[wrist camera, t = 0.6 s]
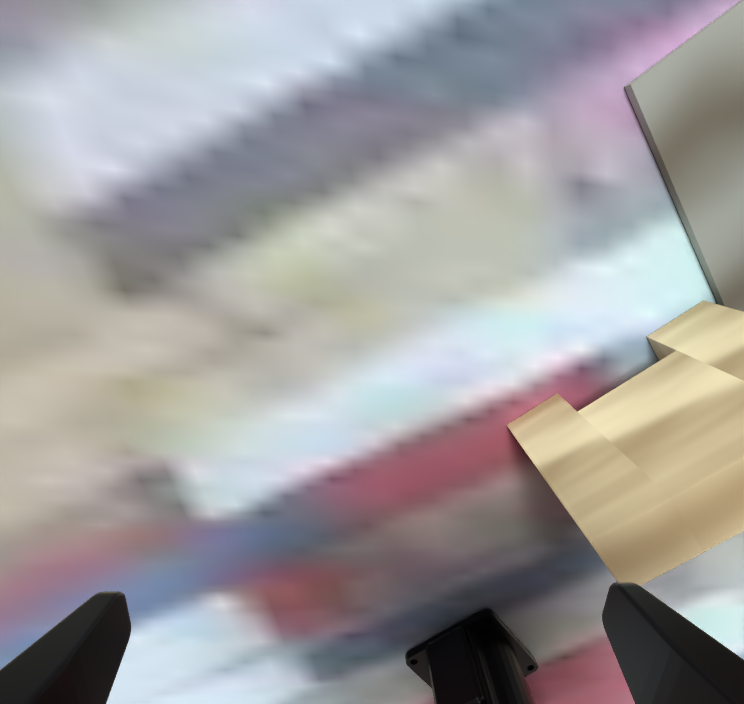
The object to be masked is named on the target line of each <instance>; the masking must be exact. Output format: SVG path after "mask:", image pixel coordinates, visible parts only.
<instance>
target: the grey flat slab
mask: <svg viewBox="0 0 744 704" xmlns="http://www.w3.org/2000/svg"><path fill="white" fill-rule="evenodd" d="M624 88H625V90H626V92H627V95H628V97H629V99H630V102H631V104H632V106H633V109H634V111H635V113H636V116H637V118H638V120H639V123H640V125H641V127H642V130H643V132H644V134H645V136H646V139H647V141H648V143H649V146H650V148H651V150H652V153H653V155H654V157H655V160H656V162H657V164H658V167H659V169H660V171H661V174H662V176H663V178H664V181H665V183H666V185H667V188H668V190H669V192H670V194H671V197H672V199H673V201H674V204H675V206H676V208H677V211H678V213H679V215H680V218H681V220H682V222H683V225H684V227H685V229H686V232H687V234H688V236H689V239H690V241H691V243H692V246H693V248H694V250H695V253H696V255H697V257H698V259H699V262H700V264H701V266H702V269H703V271H704V273H705V276H706V278H707V280H708V283H709V285H710V287H711V290H712V292H713V294H714V297H715V299H716V301H717V304H718V305H721V306H725V307H728V308H732V309H735V310H739V311H743V312H744V0H741V1H739V2H738V3H737V4H735V5H734V6H733V7H731V8H730V9H729V10H727V11H726V12H725V13H723V14H722V15H721V16H719V17H718V18H717V19H715V20H714V21H713V22H711V23H710V24H708V25H707V26H706V27H704V28H703V29H702V30H700V31H699V32H698V33H696V34H695V35H694V36H692V37H691V38H690V39H688V40H687V41H686V42H684V43H683V44H682V45H680V46H679V47H677V48H676V49H675V50H673V51H672V52H671V53H669V54H668V55H667V56H665V57H664V58H663V59H661V60H660V61H659V62H657V63H656V64H655V65H653V66H652V67H651V68H649V69H648V70H646V71H645V72H644V73H642V74H641V75H640V76H638V77H637V78H636V79H634V80H633V81H632V82H630V83H629V84H628V85H626V86H625V87H624Z"/></svg>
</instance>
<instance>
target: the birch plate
mask: <svg viewBox="0 0 744 704" xmlns="http://www.w3.org/2000/svg"><path fill="white" fill-rule="evenodd" d="M647 338H648V340H649V342H650V344H651V346H652V348H653V350H654V352H655V354H656V356H657V358H658V360H659V362H657V363H655V364H654V365H652V366H650V367H649V368H647V369H646V370H644V371H642V372H641V373H639V374H638V375H636V376H634V377H633V378H631V379H629V380H628V381H626V382H625V383H623V384H621V385H620V386H618V387H617V388H615V389H613V390H612V391H610V392H609V393H607V394H605V395H604V396H602V397H600V398H599V399H597V400H596V401H594V402H592V403H591V404H589V405H588V406H586V407H584V408H583V409H581V410H579V411H578V412H577V411H576V410H575V409H574V408H573V407H572V406H571V405H569V404H568V403H567V402H566V401H565V400H564V399H563V398H562V397H561V396H560V395H559V394H555V395H554V396H552V397H550V398H549V399H547V400H546V401H544V402H543V403H541V404H539V405H538V406H536V407H535V408H533V409H531V410H530V411H528V412H527V413H525V414H524V415H522V416H520V417H519V418H517V419H516V420H514V421H512V422H511V423H509V424H508V425H507V427H508V428H509V429H510V431H511V432H512V434H513V435H514V436H515V438H516V439H517V441H518V442H519V444H520V445H521V446H522V448H523V449H524V451H525V452H526V454H527V455H528V456H529V458H530V459H531V461H532V462H533V463H534V465H535V466H536V468H537V469H538V470H539V472H540V473H541V475H542V476H543V478H544V479H545V480H546V482H547V483H548V485H549V486H550V487H551V489H552V490H553V492H554V493H555V494H556V496H557V497H558V499H559V500H560V501H561V503H562V504H563V506H564V507H565V508H566V510H567V511H568V513H569V514H570V515H571V517H572V518H573V520H574V521H575V523H576V524H577V525H578V527H579V528H580V530H581V531H582V532H583V534H584V535H585V537H586V538H587V539H588V541H589V542H590V544H591V545H592V546H593V548H594V549H595V551H596V552H597V553H598V555H599V556H600V558H601V559H602V560H603V562H604V563H605V565H606V566H607V568H608V569H609V570H610V572H611V573H612V575H613V576H614V577H615V579H616V580H617V582H632V583H635V584H637V585H639V586H641V585H643V584H645V583H647V582H649V581H650V580H652V579H654V578H656V577H658V576H660V575H662V574H664V573H665V572H667V571H669V570H671V569H673V568H675V567H677V566H679V565H680V564H682V563H684V562H686V561H688V560H690V559H692V558H694V557H696V556H697V555H699V554H701V553H703V552H705V551H707V550H709V549H711V548H712V547H714V546H716V545H718V544H720V543H722V542H724V541H726V540H727V539H729V538H731V537H733V536H735V535H737V534H739V533H741V532H742V531H744V312H743V311H739V310H735V309H732V308H728V307H725V306H721V305H718V304H714V303H710V302H707V301H702V302H701V303H699V304H697V305H696V306H694V307H693V308H691V309H689V310H688V311H686V312H685V313H683V314H682V315H680V316H678V317H677V318H675V319H674V320H672V321H670V322H669V323H667V324H666V325H664V326H663V327H661V328H659V329H658V330H656V331H655V332H653V333H652V334H650V335H648V336H647Z"/></svg>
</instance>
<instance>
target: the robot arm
mask: <svg viewBox="0 0 744 704" xmlns="http://www.w3.org/2000/svg"><path fill="white" fill-rule="evenodd" d="M602 620H603V625H604V628H605V631H606V634H607V636H608V638H609V641H610V643H611V646H612V648H613V651H614V653H615V655H616V658H617V660H618V663H619V665H620V668H621V670H622V672H623V675H624V677H625V680H626V682H627V685H628V687H629V689H630V692H631V694H632V697H633V699H634V702H635V704H744V660H743V659H742V658H740V657H739V656H738V655H736V654H735V653H733V652H732V651H731V650H729V649H728V648H726V647H725V646H724V645H722V644H721V643H719V642H718V641H717V640H715V639H714V638H712V637H711V636H710V635H708V634H707V633H705V632H704V631H702V630H701V629H700V628H698V627H697V626H695V625H694V624H693V623H691V622H690V621H688V620H687V619H686V618H684V617H683V616H681V615H680V614H679V613H677V612H676V611H674V610H673V609H672V608H670V607H669V606H667V605H666V604H665V603H663V602H662V601H660V600H659V599H658V598H656V597H655V596H653V595H652V594H651V593H649V592H648V591H646V590H645V589H643V588H642V587H641V586H639V585H637V584H635V583H632V582H618V583H613V584H612V585H611V586H610V588H609V591H608V595H607V599H606V602H605V606H604V610H603V614H602ZM130 633H131V622H130V617H129V612H128V607H127V602H126V598H125V595H124V594H123V593H122V592H119V591H118V592H99V593H97V594H95V595H94V596H92V597H91V598H90V599H89V600H87V601H86V602H85V603H84V604H82V605H81V606H80V607H79V608H77V609H76V610H75V611H74V612H72V613H71V614H70V615H68V616H67V617H66V618H65V619H63V620H62V621H61V622H60V623H58V624H57V625H56V626H55V627H53V628H52V629H51V630H50V631H48V632H47V633H46V634H45V635H43V636H42V637H41V638H40V639H38V640H37V641H36V642H35V643H33V644H32V645H31V646H30V647H28V648H27V649H26V650H25V651H23V652H22V653H21V654H20V655H18V656H17V657H16V658H15V659H13V660H12V661H11V662H10V663H8V664H7V665H6V666H5V667H3V668H2V669H1V670H0V704H106V702H107V700H108V697H109V694H110V691H111V688H112V686H113V683H114V680H115V677H116V675H117V672H118V669H119V666H120V663H121V661H122V658H123V655H124V652H125V649H126V647H127V644H128V641H129V638H130ZM405 657H406V664H407V666H409V667H410V668H411V669H412V670H413V671H414V672H415V673H416V674H417V675H418V676H419V677H420V678H421V679H423V680H424V681H425V682H426V683H427V684H428V685H429V686H430V687H431V688H432V690H433V696H434V701H435V704H535V703H534V700H533V697H532V695H531V692H530V689H529V687H528V684H527V681H526V679H525V676H527V675H529V674H531V673H533V672H535V671H536V670H537V668H538V665H537V663H536V660H535V658H534V657H533V656H532V655H531V654H530V653H529V651H528V650H527V649H526V648H525V647H524V646H523V645H522V644H521V643H520V641H519V640H518V639H517V638H516V637H515V636H514V635H513V634H512V632H511V631H510V630H509V629H508V628H507V627H506V626H505V625H504V623H503V622H502V621H501V620H500V619H499V618H498V617H497V616H496V614H495V613H494V612H493V611H492V610H489V609H485V610H482V611H480V612H478V613H477V614H475V615H473V616H471V617H469V618H468V619H466V620H464V621H462V622H460V623H459V624H457V625H455V626H453V627H451V628H450V629H448V630H446V631H444V632H442V633H441V634H439V635H437V636H435V637H434V638H432V639H430V640H428V641H426V642H425V643H423V644H421V645H419V646H417V647H416V648H414V649H412V650H410V651H409V652H407V653H406V655H405Z"/></svg>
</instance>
